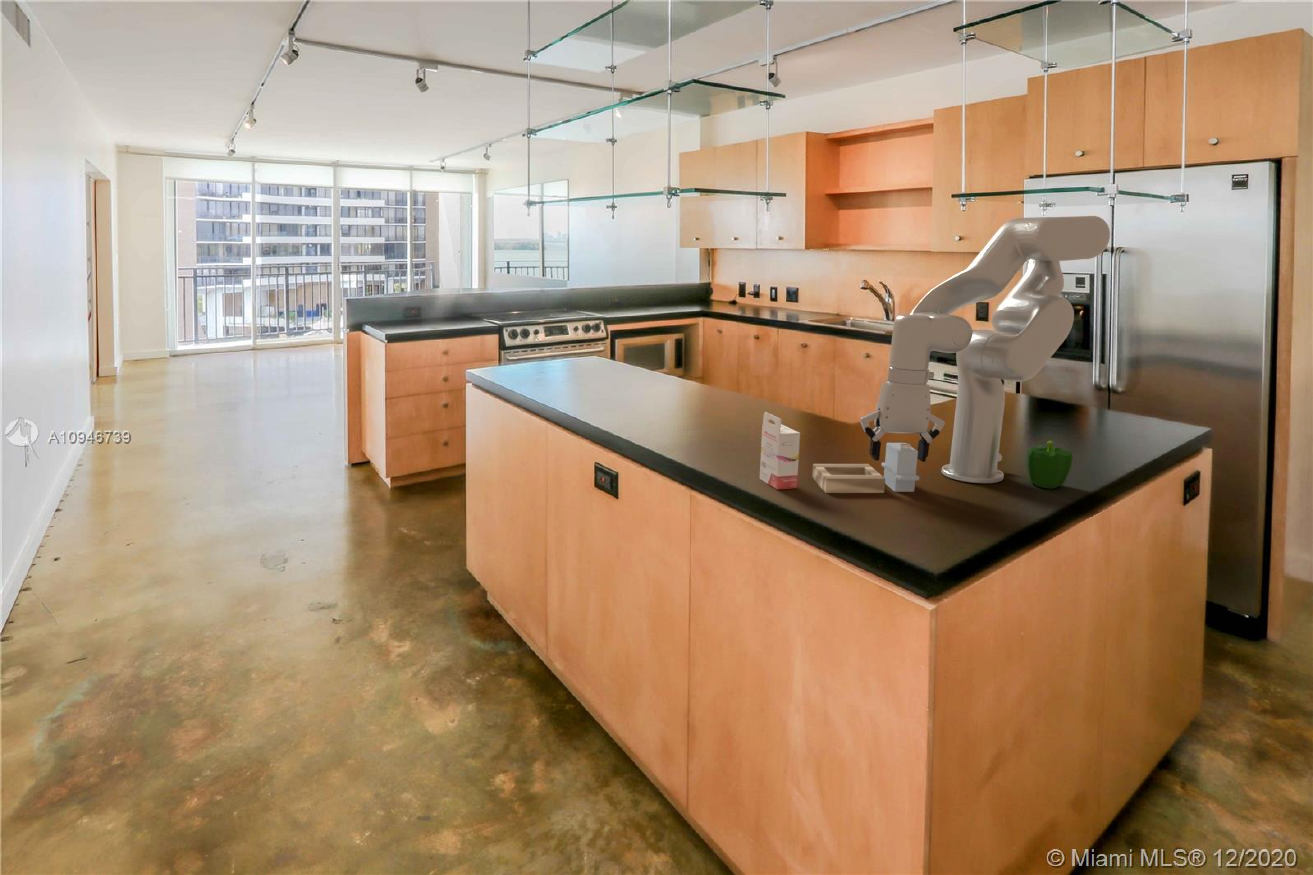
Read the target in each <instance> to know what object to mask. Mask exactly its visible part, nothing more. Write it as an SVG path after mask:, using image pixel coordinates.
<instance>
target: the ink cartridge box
mask: <svg viewBox="0 0 1313 875" xmlns="http://www.w3.org/2000/svg"><path fill="white" fill-rule="evenodd" d="M770 421H772V422H774V423H771V422H770ZM761 427H762V428H761V442H760V447H761V448H760V463H759V464H760V465H759V467H760V468H759V479H760V481H762V482H764V483H765V484H767V485H769V486H770V487H772V488H773V489H775V490H788V489H790V490H791V489H797V488H798V478H799V476H798V475H799V461H800V460H799V458H800V442H801V440H800V439H801V432H799V431H798V430H797V431H796V430H795V429H792V428H790V427H788V426H786V425H784V424H782V418H780V417H778V416H775V415H773V414H772V413H769V412H767V411H764V414H763V418H762V426H761Z"/></svg>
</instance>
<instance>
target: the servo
mask: <svg viewBox="0 0 1313 875" xmlns="http://www.w3.org/2000/svg"><path fill="white" fill-rule="evenodd" d="M917 450H918V449H915V448H914V447H912V446H911V443H906V442H886V444H885V457H884V458H885V459H884V462H881V467H883V468H884V470H883V477H884V478H885V485H887V486H888V487H889V488H890V489H891V490H892V491H894V492H895V493H896V492H899V493H901V492H903V493H905V492H906V493H907V492H910V493H912V492H915V485H916V481H920V476H919V475H917V464H918V459H917V456H918V451H917Z"/></svg>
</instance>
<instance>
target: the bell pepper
mask: <svg viewBox="0 0 1313 875" xmlns="http://www.w3.org/2000/svg"><path fill="white" fill-rule="evenodd" d="M1046 446H1047V447H1046ZM1046 446H1045V445H1038V446H1036V447H1034V446H1033V447H1030V449H1029V450H1028V451H1027V457H1026V466H1027V474H1028V479H1029V482H1030V483H1031V484H1034V485H1035V486H1037V487H1039V488H1044V489H1057V488H1058V487H1062V486H1063V484H1065V482H1066V480H1067V478H1068V476H1069V474H1070V471H1071V467H1072V464H1073V457H1074V456H1073V454H1072V451H1070V450H1069V451H1068V450H1065V449H1064V448H1062V447H1054V442H1053V440H1048V441H1047V442H1046Z"/></svg>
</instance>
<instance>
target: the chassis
mask: <svg viewBox="0 0 1313 875" xmlns="http://www.w3.org/2000/svg"><path fill="white" fill-rule="evenodd" d="M811 478H812V479H813V481H814V482H816V484H817V485H818V486H819V487H820V488H821V490H823V492H824V493H825V494H885V487H886V486H885V485H886V484H885V478H884V475H882V474H881V473H879V471H878V470H876V469H875V468H874V467H872V466H871V465H870V464H869V463H813V464H812V474H811Z"/></svg>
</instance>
